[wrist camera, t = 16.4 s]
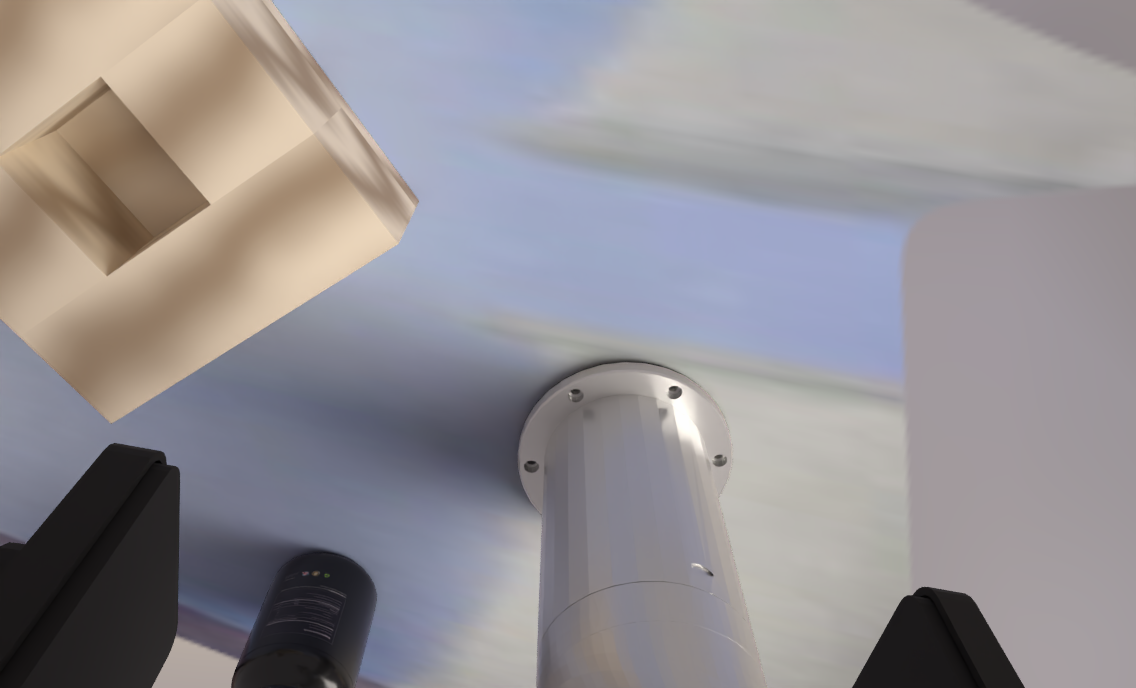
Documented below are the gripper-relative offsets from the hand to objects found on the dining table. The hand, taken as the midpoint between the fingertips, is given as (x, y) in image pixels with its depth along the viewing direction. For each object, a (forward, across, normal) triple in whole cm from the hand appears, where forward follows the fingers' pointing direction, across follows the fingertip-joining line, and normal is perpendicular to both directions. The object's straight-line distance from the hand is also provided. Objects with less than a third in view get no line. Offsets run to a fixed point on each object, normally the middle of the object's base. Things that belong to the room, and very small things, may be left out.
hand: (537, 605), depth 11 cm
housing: (+33, +18, +7) cm, 39 cm away
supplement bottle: (+34, +8, +35) cm, 49 cm away
